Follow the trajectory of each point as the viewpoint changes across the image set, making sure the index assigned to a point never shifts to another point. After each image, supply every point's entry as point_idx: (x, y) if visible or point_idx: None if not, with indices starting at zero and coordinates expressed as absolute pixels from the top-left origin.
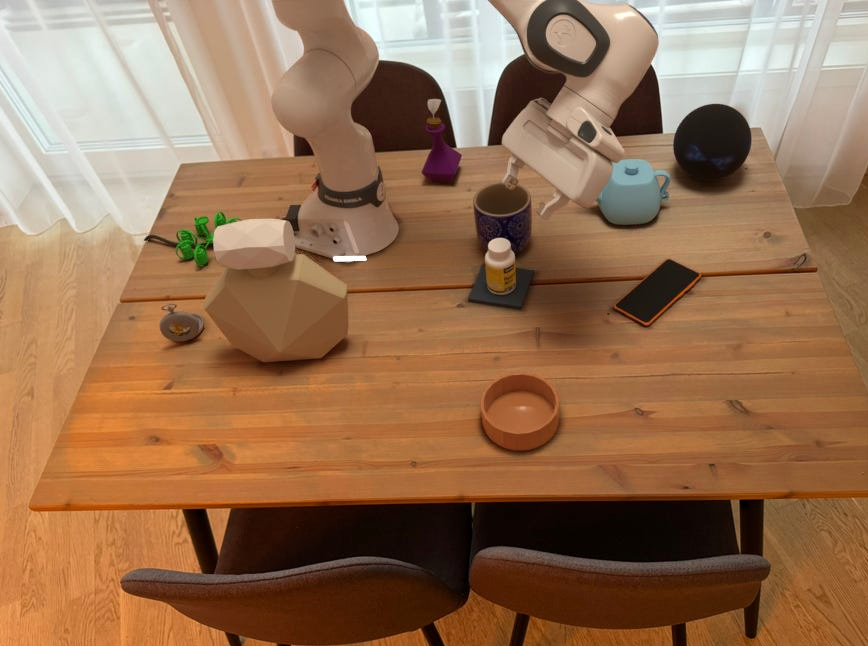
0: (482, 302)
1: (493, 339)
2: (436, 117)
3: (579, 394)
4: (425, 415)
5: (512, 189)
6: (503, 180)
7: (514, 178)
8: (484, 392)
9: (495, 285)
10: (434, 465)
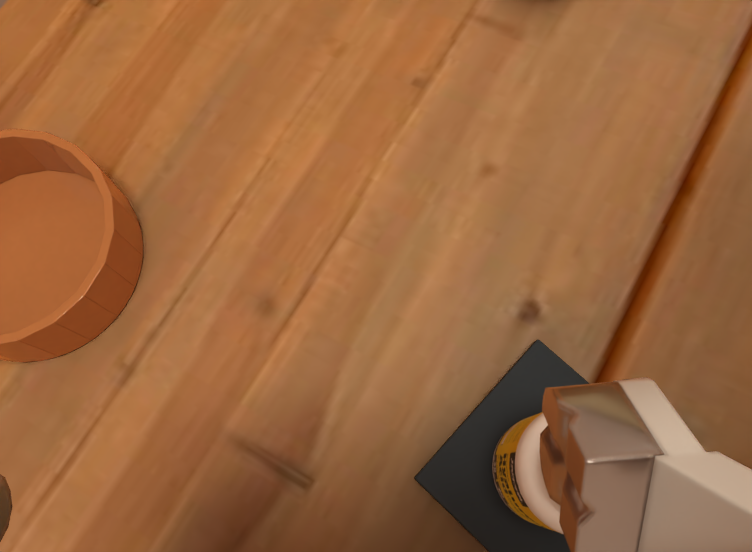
0: (504, 376)
1: (341, 334)
2: None
3: (3, 449)
4: (202, 70)
5: (543, 463)
6: (645, 391)
7: (605, 511)
8: (90, 164)
9: (516, 425)
10: (61, 34)
